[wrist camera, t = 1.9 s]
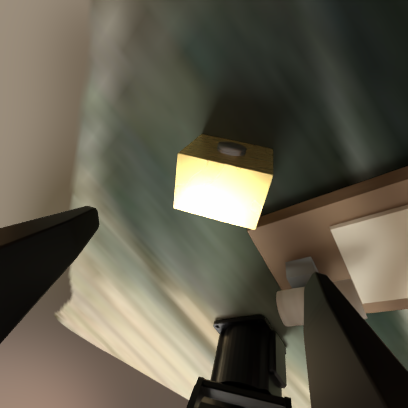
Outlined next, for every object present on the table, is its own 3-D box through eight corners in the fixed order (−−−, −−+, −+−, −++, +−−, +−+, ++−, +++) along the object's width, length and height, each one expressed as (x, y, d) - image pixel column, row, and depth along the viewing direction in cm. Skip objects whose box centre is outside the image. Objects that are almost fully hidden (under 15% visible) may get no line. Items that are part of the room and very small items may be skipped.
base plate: (297, 306, 22) (305, 368, 17) (248, 220, 19) (241, 268, 14) (562, 270, 14) (702, 364, 10) (559, 114, 11) (772, 140, 6)
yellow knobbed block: (258, 196, 18) (253, 233, 13) (195, 181, 18) (173, 211, 14) (274, 144, 15) (274, 169, 11) (202, 129, 16) (178, 147, 12)
